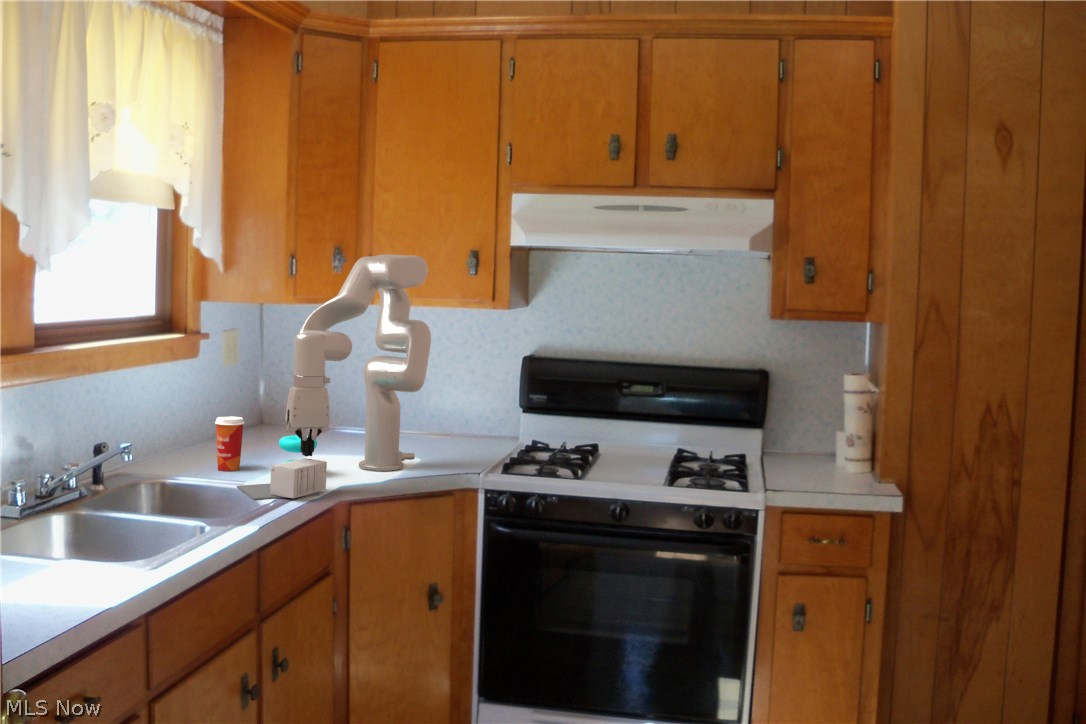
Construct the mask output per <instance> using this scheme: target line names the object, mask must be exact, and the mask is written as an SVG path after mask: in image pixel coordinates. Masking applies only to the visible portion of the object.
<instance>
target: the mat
mask: <svg viewBox="0 0 1086 724" xmlns="http://www.w3.org/2000/svg"><path fill="white" fill-rule="evenodd" d="M270 485H271V482H270V483H257V484H245V485H244V484H243V485H237V486H236V489H238V490H240V491H241V492H242V493H244V494H245V495H246V496H248V497H249V498H251V499H252V500H253V501H260V500H272V499H274V500H275V499H286V498H287V497H281V496H276V495H271V494H270ZM308 496H309V497H313V496H320V492H316V493H312V494H308V495H305V496H304V497H308Z"/></svg>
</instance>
